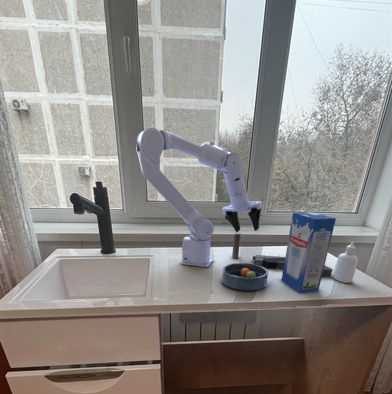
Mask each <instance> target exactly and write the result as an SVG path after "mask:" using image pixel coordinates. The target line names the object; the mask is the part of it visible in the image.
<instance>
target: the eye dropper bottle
mask: <svg viewBox="0 0 392 394" xmlns="http://www.w3.org/2000/svg"><path fill="white" fill-rule="evenodd" d="M356 249H357V248H356V246H355V242H354V241H351V242H350V243H349V245H346V248H345V252H344V253H340V254H338V257H337V260H336V264H335V267H334V271H333V275H332V279H334V280H335V281H338V282H340V283H345V284H349V283H352V281H353V279H354V276H355V273H356V269H357V266H358V262H359V258H358V257H357V256H356V255H355V252H356Z"/></svg>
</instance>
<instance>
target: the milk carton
mask: <svg viewBox="0 0 392 394" xmlns="http://www.w3.org/2000/svg"><path fill="white" fill-rule="evenodd" d="M336 221H337V218H336V217H332V216H329V215H324V214H322V213H321V214H320V213H318V212H317V213H316V212H313V211H309V212H307V211H304V212H303V211H302V212H292V216H291V222H290V228H289V234H288V239H287V246H286V252H285V256H284V257H285V262H284V268H283V269H282V275H281V281H282V282H283V283H285V284H286V285H287V286H289V287H290V288H292V289H293V290H294V291H296V292H298V293H302V294H303V293H310V292H319V291H320V290H319V289H320V285H321V281H322V278H323V276H322V274H323V270H324V266H326V263H327V257H328V253H329V249H330V245H331V241H332V236H333V233H334V229H335V224H336Z"/></svg>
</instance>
